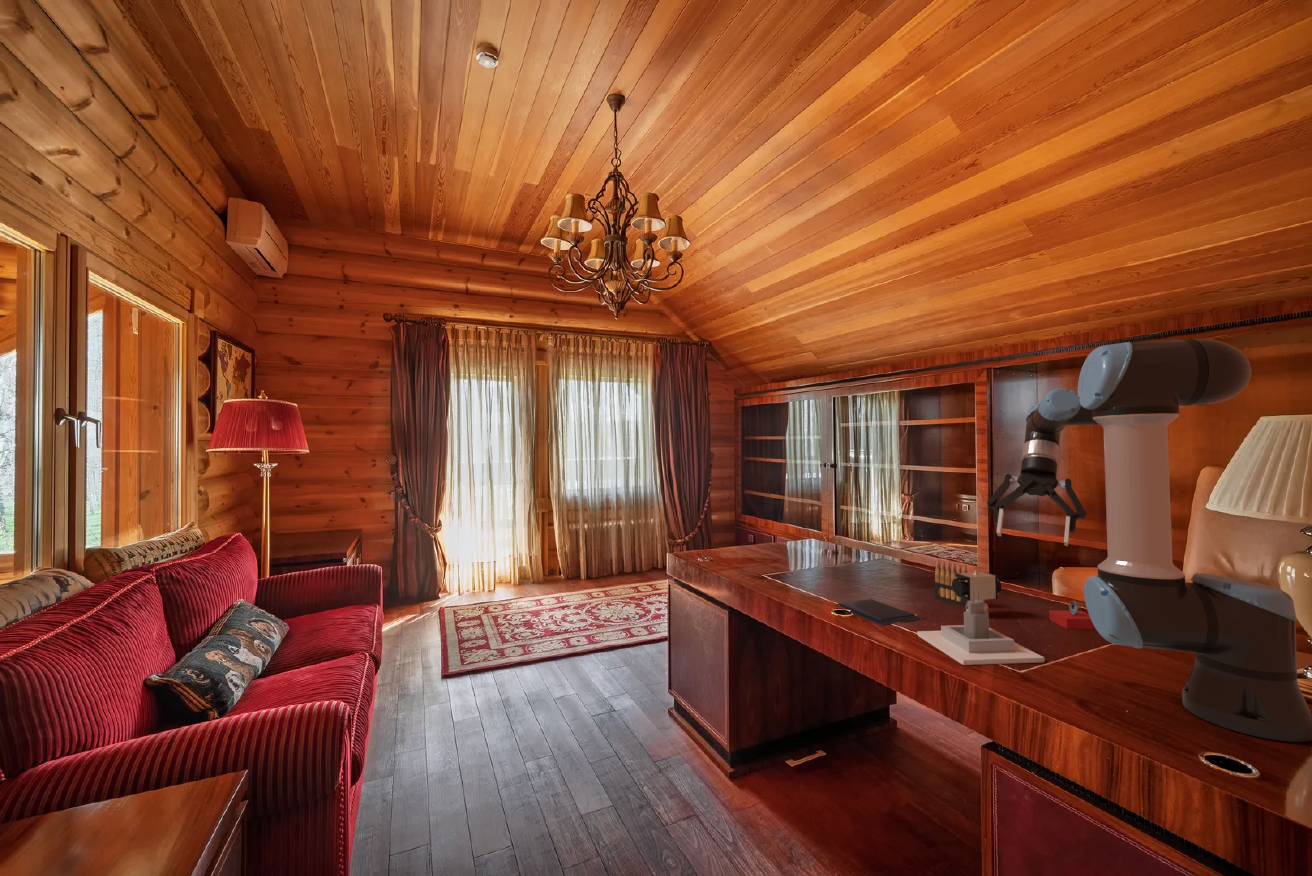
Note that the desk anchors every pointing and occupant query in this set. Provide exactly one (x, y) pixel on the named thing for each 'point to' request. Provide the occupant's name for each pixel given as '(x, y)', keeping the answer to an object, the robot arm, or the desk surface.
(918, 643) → the desk surface
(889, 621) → the wallet
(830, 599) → the desk surface
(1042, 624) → the desk surface
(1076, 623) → the red rectangular block
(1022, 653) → the holder plate
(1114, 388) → the robot arm
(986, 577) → the pneumatic valve
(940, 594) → the ammunition clip
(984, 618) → the power adapter
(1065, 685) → the desk surface
